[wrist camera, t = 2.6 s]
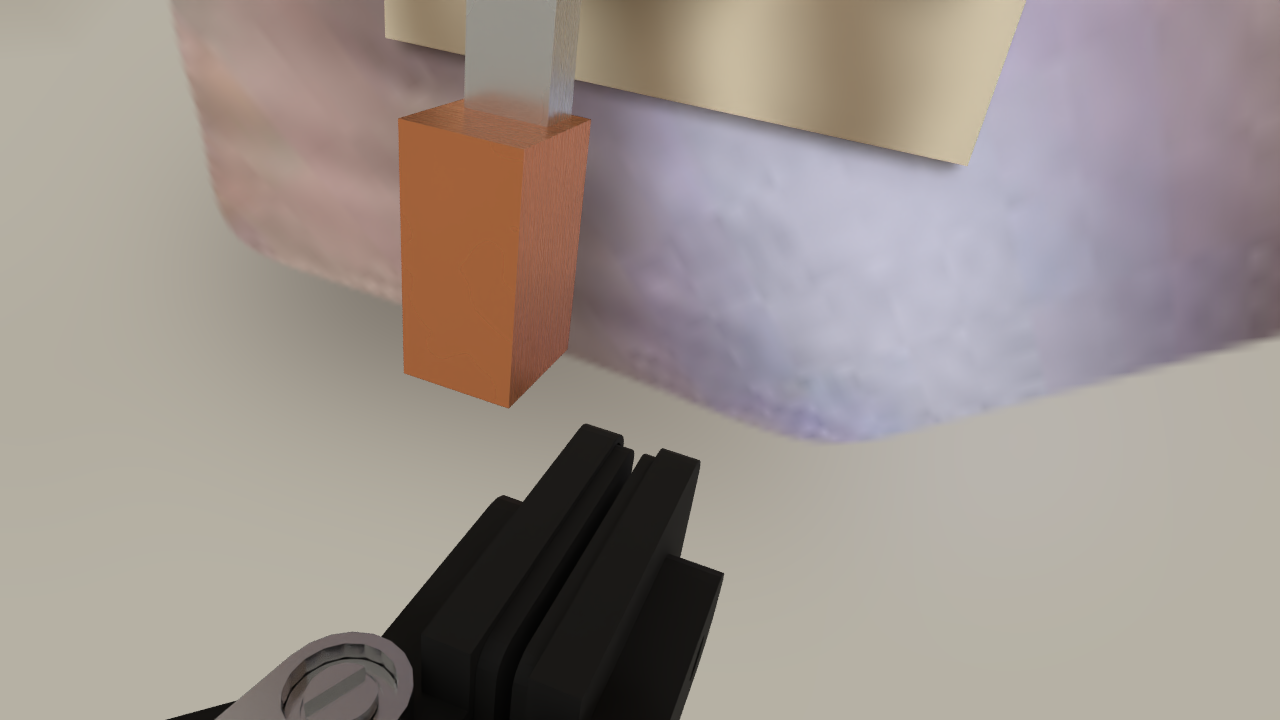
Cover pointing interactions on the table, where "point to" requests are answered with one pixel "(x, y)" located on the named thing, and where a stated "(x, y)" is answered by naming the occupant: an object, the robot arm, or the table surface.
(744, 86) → the board
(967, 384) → the table surface
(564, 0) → the lever
